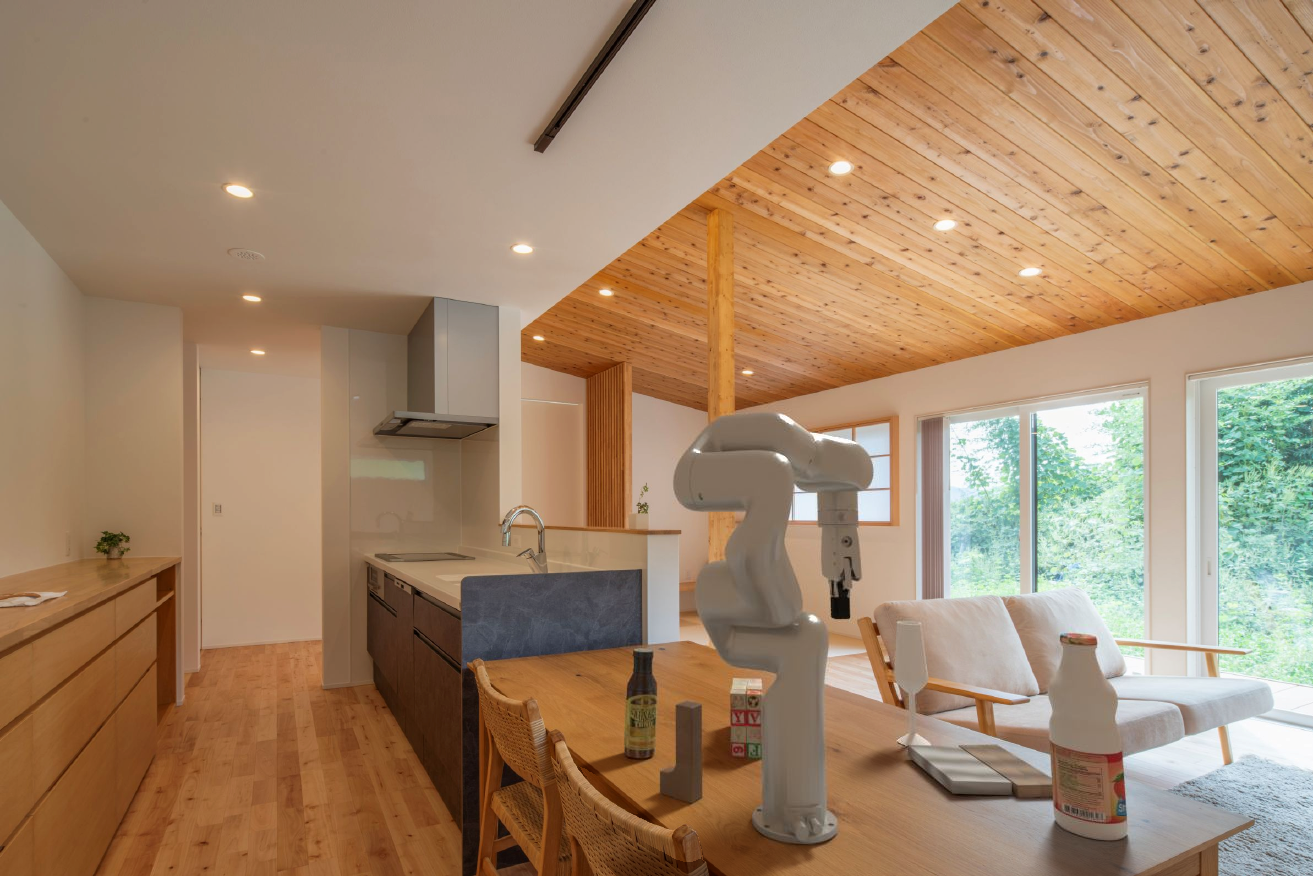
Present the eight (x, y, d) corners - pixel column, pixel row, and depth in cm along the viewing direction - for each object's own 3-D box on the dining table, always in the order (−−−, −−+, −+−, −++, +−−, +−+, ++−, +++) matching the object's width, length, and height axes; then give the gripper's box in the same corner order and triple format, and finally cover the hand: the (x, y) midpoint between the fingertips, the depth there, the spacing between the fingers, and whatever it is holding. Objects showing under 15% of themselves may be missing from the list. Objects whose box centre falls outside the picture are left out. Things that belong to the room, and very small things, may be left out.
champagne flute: (900, 735, 146) (895, 619, 149) (933, 741, 143) (928, 622, 145) (893, 744, 140) (888, 623, 143) (928, 750, 137) (923, 626, 139)
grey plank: (1011, 795, 115) (1011, 782, 115) (953, 793, 114) (953, 781, 115) (958, 757, 133) (958, 746, 133) (907, 755, 132) (907, 744, 132)
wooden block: (702, 797, 114) (702, 703, 116) (691, 804, 111) (691, 707, 113) (670, 788, 118) (670, 697, 120) (659, 794, 115) (659, 701, 117)
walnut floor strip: (1063, 797, 114) (1062, 784, 115) (1018, 798, 114) (1018, 785, 114) (997, 755, 134) (996, 744, 134) (959, 755, 134) (958, 745, 134)
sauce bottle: (627, 762, 130) (628, 653, 133) (620, 751, 136) (621, 647, 139) (661, 758, 132) (661, 651, 134) (652, 748, 138) (652, 646, 140)
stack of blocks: (734, 725, 154) (734, 668, 155) (763, 726, 153) (762, 668, 154) (730, 758, 133) (729, 692, 134) (763, 760, 132) (762, 693, 133)
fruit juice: (1044, 812, 109) (1033, 629, 112) (1109, 816, 107) (1096, 631, 110) (1069, 839, 99) (1057, 640, 102) (1141, 844, 98) (1127, 641, 101)
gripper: (871, 520, 124) (875, 624, 122) (844, 519, 139) (847, 612, 137) (830, 520, 124) (833, 625, 122) (807, 519, 139) (809, 613, 137)
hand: (840, 618), depth 129 cm, fingers closed
